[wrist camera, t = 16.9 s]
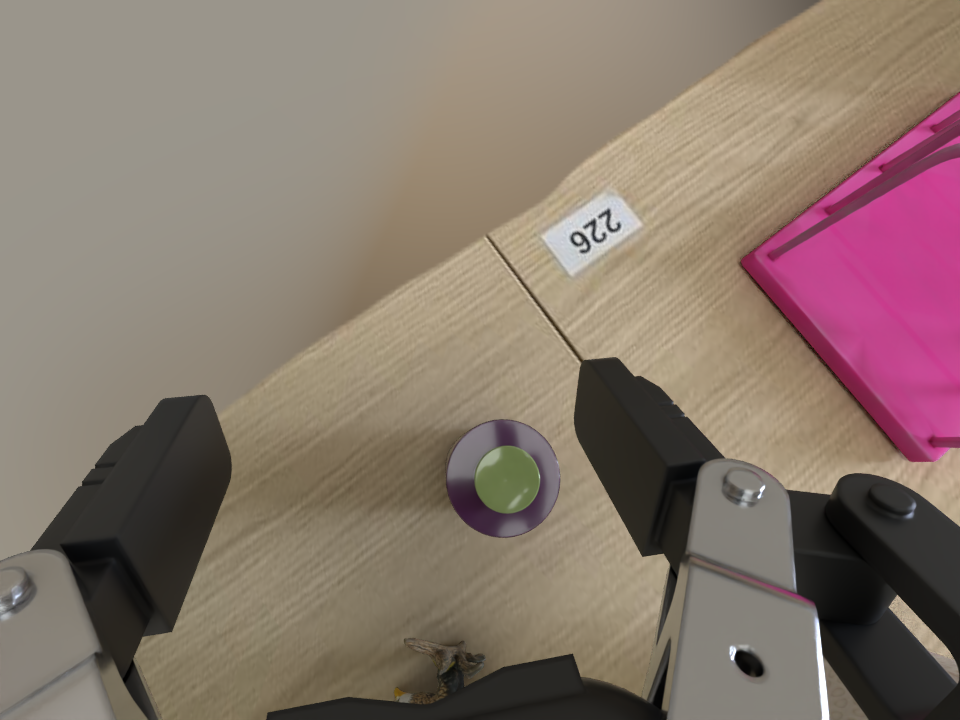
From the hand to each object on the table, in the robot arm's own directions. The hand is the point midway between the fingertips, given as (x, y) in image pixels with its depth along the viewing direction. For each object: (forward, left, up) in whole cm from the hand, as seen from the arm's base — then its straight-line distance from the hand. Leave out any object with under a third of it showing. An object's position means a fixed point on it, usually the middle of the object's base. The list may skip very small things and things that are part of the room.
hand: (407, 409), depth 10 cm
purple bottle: (+3, -3, -19) cm, 20 cm away
